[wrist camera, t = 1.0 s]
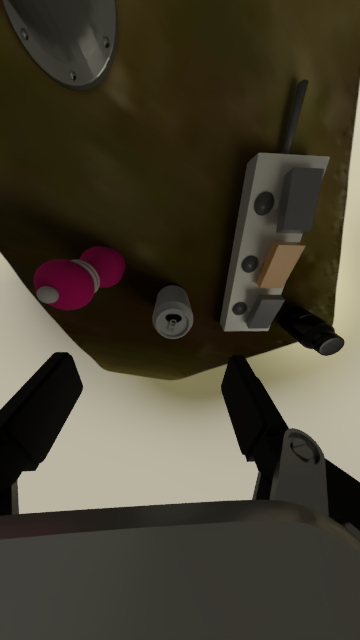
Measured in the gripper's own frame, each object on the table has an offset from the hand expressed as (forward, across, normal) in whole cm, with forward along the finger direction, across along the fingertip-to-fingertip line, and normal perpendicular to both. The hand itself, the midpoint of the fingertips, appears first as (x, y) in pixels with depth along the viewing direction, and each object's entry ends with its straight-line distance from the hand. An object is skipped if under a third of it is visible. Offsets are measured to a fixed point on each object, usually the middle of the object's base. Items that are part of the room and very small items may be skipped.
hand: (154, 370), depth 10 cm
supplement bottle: (+28, -34, +11) cm, 45 cm away
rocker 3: (+22, -21, +6) cm, 31 cm away
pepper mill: (+28, +12, -1) cm, 31 cm away
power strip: (+28, -19, -3) cm, 34 cm away
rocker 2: (+22, -21, -3) cm, 31 cm away
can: (+28, -2, +7) cm, 29 cm away
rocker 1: (+22, -20, -13) cm, 33 cm away
